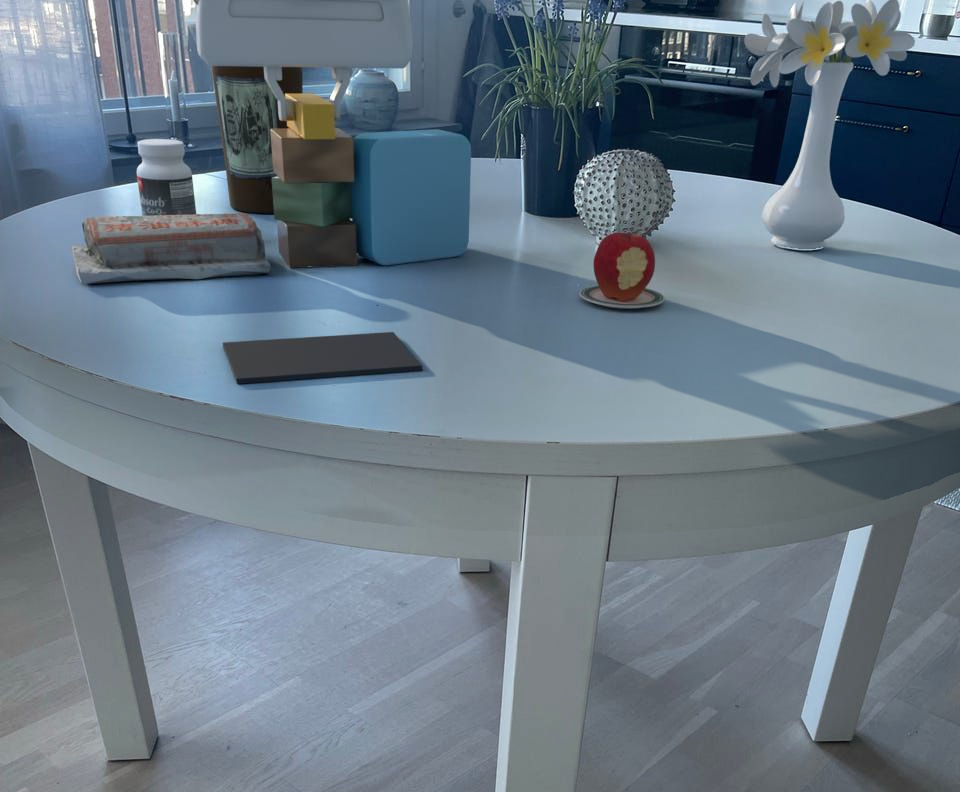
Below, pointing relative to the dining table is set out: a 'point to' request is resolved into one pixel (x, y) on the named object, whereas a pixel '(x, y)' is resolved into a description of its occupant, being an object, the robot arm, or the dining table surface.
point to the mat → (318, 357)
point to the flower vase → (821, 105)
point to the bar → (312, 117)
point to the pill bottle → (164, 179)
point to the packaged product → (169, 248)
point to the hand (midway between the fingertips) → (310, 120)
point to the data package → (411, 195)
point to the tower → (314, 199)
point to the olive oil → (250, 131)
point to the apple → (623, 273)
